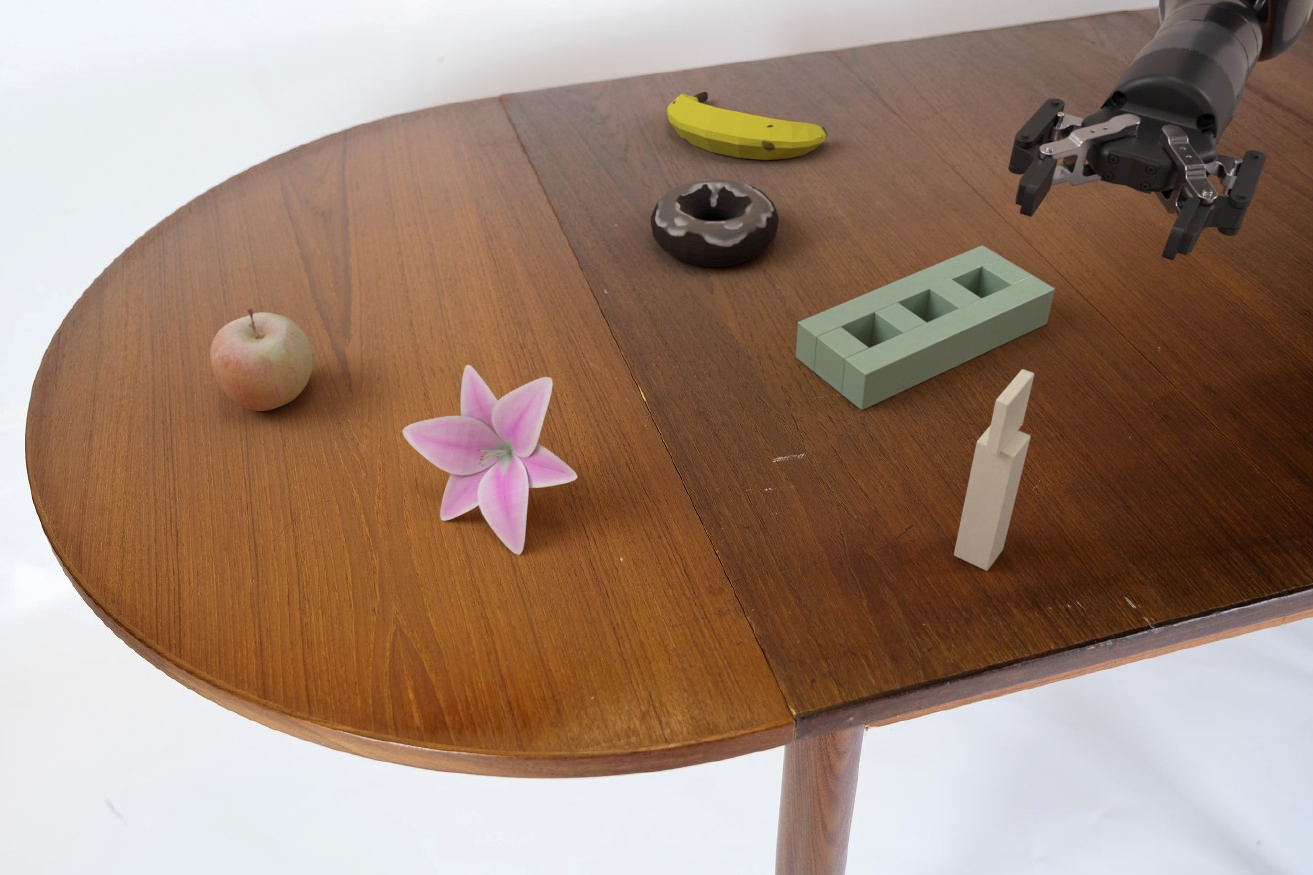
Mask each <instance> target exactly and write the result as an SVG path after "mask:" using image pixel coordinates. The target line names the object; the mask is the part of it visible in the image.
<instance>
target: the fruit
mask: <svg viewBox="0 0 1313 875" xmlns="http://www.w3.org/2000/svg"><path fill="white" fill-rule="evenodd" d="M246 311H247V313H248V315H245V316H242V317H239V318H237V319H234V320H232V321H230V322H228V323H227V324H224V326H222V327H221V328H220V329H219V330H218V331H217V333H216V334H215V336H214V337H213V340H212V342H211V345H210V349H209V350H210V351H209V352H210V353H209V360H210V366H211V369H212V373H213V375H214V376H213V377H214V378H215V380H216V381H217V384H218V386H219V387H220V388H221V390H222V391H223V393H225V395H226V396H227V397H228V398H229V399H230V400H231V401H233V402H235V403H236V404H237V405H239V406H240V407H242V408H244V409H247V410H250V411H258V412H264V411H270V410H274V409H277V408H280V407H282V406H284V405H287V404H289V403H290V402H292V401H294V400H295V399H296V398H297V397H299V395H301V393H302V392H303V390H304V389H305V387H306V386H307V384H308V382H309V380H310V378H311V375H312V371H313V366H314V356H313V349H312V346H311V343H310V341H309V338H308V336H307V335H306V333H305V332H304V331H303V329H302V328H301V327H300V326H299V325H298V323H296V322H295V321H294V320H292V319H290V318H288V317H286V316H284V315H281V314H279V313H274V312H268V311H267V312H266V311H265V312H263V311H262V312H255V313H254V311H253V308H248V309H247V310H246Z"/></svg>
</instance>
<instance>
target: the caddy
mask: <svg viewBox="0 0 1313 875" xmlns="http://www.w3.org/2000/svg"><path fill="white" fill-rule="evenodd" d="M1055 292H1056V288H1055V287H1053V286H1052V285H1050V284H1049V283H1047V282H1045V281H1044V280H1042V279H1040V278H1038V277H1037V276H1035V275H1033V274H1031V273H1030V272H1028V271H1026V270H1025V269H1023V268H1021V267H1020V266H1019V265H1017V264H1015V263H1013V262H1011V261H1009V259H1006V258H1005V257H1003V256H1001V255H1000V254H999V253H996V252H995V251H993V250H992V249H990V248H989V247H986V246H985V245H983V244H981V245H980V246H979V245H978V246H976V247H974V248H972V249H969V250H966V251H965V252H962V253H959V254H958V255H955V256H953V257H950V258H948V259H946V260H943V261H940V262H939V263H936V264H934V265H931V266H929V267H927V268H923V269H921V270H918V271H916V272H914V273H912V274H910V275H907V276H905V277H901V278H900V279H898V280H896V281H893V282H890V283H888V284H885V285H883V286H881V287H879V288H876V289H874V290H871V291H869V292H866V293H864V294H862V295H859V296H857V297H854V298H852V299H850V300H847V301H845V302H843V303H840V304H838V305H835V306H833V307H830V308H828V309H826V310H823V311H821V312H819V313H816V314H814V315H812V316H808V317H807V318H804V319H802V320H799V321H798V322H797V329H796V345H795V346H796V347H795V358H796V359H797V360H798V361H800V362H801V363H802V364H803V365H805V366H806V367H807V368H808V369H810V370H811V371H812V372H813V373H814V374H815V375H817V376H818V377H819V378H820V379H822V380H823V381H825V382H826V383H827V384H828V385H829V386H831V388H833V389H834V390H835V391H836V392H838V393H839V394H841V396H843V397H844V398H846V400H848V401H849V402H850V403H851V404H852V405H854V406H855V407H857V408H858V409H859V410H860V411H864V410H865V409H868V408H870V407H872V406H875V405H876V404H879V403H881V402H883V401H885V400H887V399H889V398H892V397H894V396H896V395H898V394H900V393H902V392H904V391H906V390H908V389H910V388H911V389H912V388H913V387H915V386H917V385H919V384H921V383H923V382H926V381H929V380H930V379H932V378H934V377H936V376H938V375H941V374H943V373H945V372H947V371H949V370H951V369H954V368H956V367H958V366H960V365H962V364H964V363H966V362H969V361H971V360H973V359H975V358H977V357H979V356H982V355H983V354H986V353H987V352H990V351H992V350H994V349H996V348H998V347H1000V346H1002V345H1005V344H1007V343H1009V342H1011V341H1014V340H1015V339H1019V338H1020V337H1022V336H1024V335H1027V334H1028V333H1030V332H1031V333H1032V331H1035V330H1037V329H1039V328H1041V327H1044V326H1047V324H1048V321H1049V317H1050V313H1051V310H1052V309H1051V307H1052V305H1053V301H1054V296H1055Z"/></svg>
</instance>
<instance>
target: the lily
mask: <svg viewBox="0 0 1313 875" xmlns="http://www.w3.org/2000/svg"><path fill="white" fill-rule="evenodd" d="M553 382H554V381H553V379H552V377H549V376H544V377H543V376H542V377H540V378H537V379H534V380H532V381H529V382H527V383H525V384H523V385H520V386H518V387H517V388H515V389H513V390H512V391H509V392H508V393H506V394H505V395H503V396H502V397H501V398H499V399H497V398H496V396H495V394H494V393H493V392H492V390H491V389H490V388H489V386H488V384H486V382H485V380H484V379H483V378H482V377H481V376H480V374H479V373H478V372H477V370H475V368H474V367H473V366H472V365H470V364H466V366H465V367H464V369H463V373H462V379H461V386H460V399H459V400H460V402H459V403H460V415H446V416H440V417H434V418H429V419H425V420H421V421H417V422H414V423H410V424H409V425H406V426H405V427H404V428H403V429H402V435H403V438H404V439H405V440H406V441H407V443H408V444H409V445H410V446H411V447H412V448H414V450H416V452H418V453H419V454H420V455H421V456H422V457H424V458H425V459H426V460H427V461H428V462H429V463H431V464H432V465H433V466H435V467H437V469H439V470H441V471H444V472H446V473H448V474H450V475H449V477H448V480H447V482H446V485H445V487H444V488H445V489H444V492H443V495H442V500H441V505H440V511H439V518H440V521H442V522H443V521H444V522H445V521H449V520H452V519H455V518H457V517H459V516H461V515H464V514H465V513H467V512H469V511H472V510H473V509H475V508H477V507H479V510H480V512H481V514H482V517H483V518H484V519H485V521H486V522H487V524H488V525H489V527H490V528H491V529H492V531H493V532H494V534H495V535H496V536H497V537H498V538H499V540H500V541H501V542H502V543H503V544H504V545H505V547H506V548H508V550H510V551H511V552H512V553H513V554H515V555H518V556H520V555H521V554H522V553H523V551H524V547H525V543H526V542H525V540H526V530H527V517H528V516H527V515H528V505H529V492H530V491H529V490H530V489H531V488H532V489H536V488H537V489H538V488H547V487H554V486H558V485H563V484H568V483H571V482H574V481H575V480H577V478H578V475H577V472H576V471H575V470H574V469H573V468H571V466H569V465H568V464H567V463H566V462H565V461H563V459H561V458H560V457H558V456H557V455H556V454H555V453H553V452H552V451H551V450H549V449H548V448H546V447H545V446H544V445H542V444H540V443H539V442H538V441H539V439H540V435H541V432H542V428H543V424H544V422H545V417H546V414H547V410H548V408H549V404H550V399H551V396H552V392H553V385H554V383H553Z"/></svg>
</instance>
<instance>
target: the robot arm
mask: <svg viewBox="0 0 1313 875" xmlns="http://www.w3.org/2000/svg"><path fill="white" fill-rule="evenodd" d="M1157 9H1158V10H1157V30H1156V32H1155V34H1154V35H1153V37H1152V38H1151V39H1150V40H1149V41H1148V43H1146V44H1145V45H1144V46H1143V47H1142V48H1141V49H1140V50H1139V52H1138V53H1137V54H1136V55H1135V56H1134V57H1133V59H1132V61H1131V62H1130V64H1129V65H1128V66H1127V68H1126V69H1125V71H1124V72H1123V73H1122V75H1121V76H1120V77H1119V79H1118V81H1117V83H1116V84H1115V85H1114V87H1113V88H1112V90H1111V91H1110V93H1109V94H1108V96H1107V97H1106V99H1105V100H1104V101H1103V102H1102V105H1101V106H1100V107H1099V109H1098V110H1097V111H1096V112H1093V113H1090V114H1088V115H1086V116H1085V117H1084V118H1083V117H1079V116H1077V115H1076V116H1075V115H1072V114H1069V113H1066V112H1064V109H1065V106H1066V103H1065V101H1064V100H1063V99H1060V98H1054V97H1052V98H1048V99H1047V100H1045V102H1044V103H1043V104H1042V105H1041V106H1040V107H1039V108H1038V109H1037V110H1036V111H1035V112H1034V114H1032V115H1031V117H1029V119H1028V120H1027V121H1026V122H1025V123H1024V125H1023V126H1021V128H1020V129H1019V130H1018V131H1017V132H1016V133H1015V136H1014V140H1013V145H1012V150H1011V154H1010V159H1009V162H1008V163H1009V164H1008V167H1007V169H1008V171H1009V172H1010V173H1011V174H1014V175H1022V176H1021V177H1020V179H1019V181H1018V185H1017V190H1016V194H1015V198H1014V199H1015V201H1014V202H1015V205H1018V206H1019V207H1020V209H1019V215H1023V216H1026V217H1029V218H1032V217H1033V216H1034V215H1035V213H1036V211H1037V210H1038V208H1039V207H1040V206H1041V204H1042V202H1043V201H1044V200H1045V198H1046V196H1047V195H1048V193H1049V192H1050V191H1051V188H1052V187H1053V186H1057V185H1060V184H1065V183H1068V184H1069V185H1070V186H1071V187H1076V186H1079V185H1083V184H1088V183H1092V182H1095V181H1102V182H1105V183H1109V184H1111V185H1120V186H1125V187H1129V188H1131V189H1132V190H1135V191H1138V192H1141V193H1144V194H1146V195H1147V194H1148V195H1151V194H1152V193H1154V194H1155V196H1156V197H1157V199H1158V201H1159V202H1160V203H1161V205H1162V206H1163V207H1164V209H1165V210H1166V212H1167V214H1169V215H1174V214H1175V215H1176V217H1177V218H1176V219H1175V221H1174V224H1173V225H1172V227H1171V229H1170V232H1169V234H1168V237H1167V240H1166V243H1165V245H1164V248H1163V251H1162V254H1161V258H1163V259H1166V260H1170V261H1175V259H1176V257H1177V255H1178V254H1180V255H1183V256H1188V255H1189V254H1190V253H1192V252H1193V250H1194V248H1195V246H1196V244H1197V242H1198V240H1199V238H1200V236H1201V234H1202V233H1203V232H1204V231H1205V230H1206V229H1207V228H1216V229H1217V231H1218V232H1219V234H1222V235H1223V236H1227V237H1234V236H1237V235H1239V233H1240V231H1241V228H1242V225H1243V222H1244V219H1245V216H1246V213H1247V211H1248V209H1249V207H1250V206H1251V204H1252V202H1253V199H1254V196H1255V193H1256V190H1257V187H1258V184H1259V181H1260V177H1261V174H1262V173H1263V168H1264V166H1265V163H1266V160H1267V155H1266V154H1265V153H1264V152H1263V151H1260V150H1255V149H1250V150H1247V151H1246V152H1244V155H1243V158H1242V159H1241V158H1236V157H1231V156H1227V155H1224V154H1220V153H1219V150H1218V148H1217V145H1218V143H1219V142H1220V140H1221V138H1222V136H1223V134H1224V132H1225V130H1226V129H1227V128H1228V126H1229V125H1230V124H1231V122H1232V120H1233V119H1234V117H1235V114H1236V110H1237V108H1238V106H1239V104H1240V102H1241V99H1242V96H1243V93H1244V88H1245V85H1246V83H1247V81H1248V79H1249V77H1250V75H1251V73H1252V71H1253V70H1254V68H1255V66H1256V64H1257V63H1262V62H1265V61H1266V62H1267V61H1269V60H1272V59H1274V58H1277V57H1279V56H1281V55H1282V54H1284V53H1285V52H1287V51H1288V50H1289V49H1290V48H1291V47H1292V46H1293V45H1294V44H1295V43H1296V42H1297V40H1299V38H1300V36H1301V34H1302V33H1303V31H1304V29H1305V28H1306V26H1307V23H1308V22H1309V19H1310V17H1311V13H1312V12H1313V0H1158V8H1157ZM1061 159H1062V162H1061V163H1060V164H1059V165H1058V161H1059V160H1061ZM1086 161H1087V163H1086ZM1211 175H1213V176H1215V177H1216V178H1217V179H1218V180H1219V185H1220V186H1222V190H1221V194H1222V195H1219V193H1218V191H1217V189H1216V188H1215V187H1214V185H1213V184H1212V183H1211V182H1210V180H1209V179H1208V178H1209V177H1210V176H1211Z"/></svg>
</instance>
